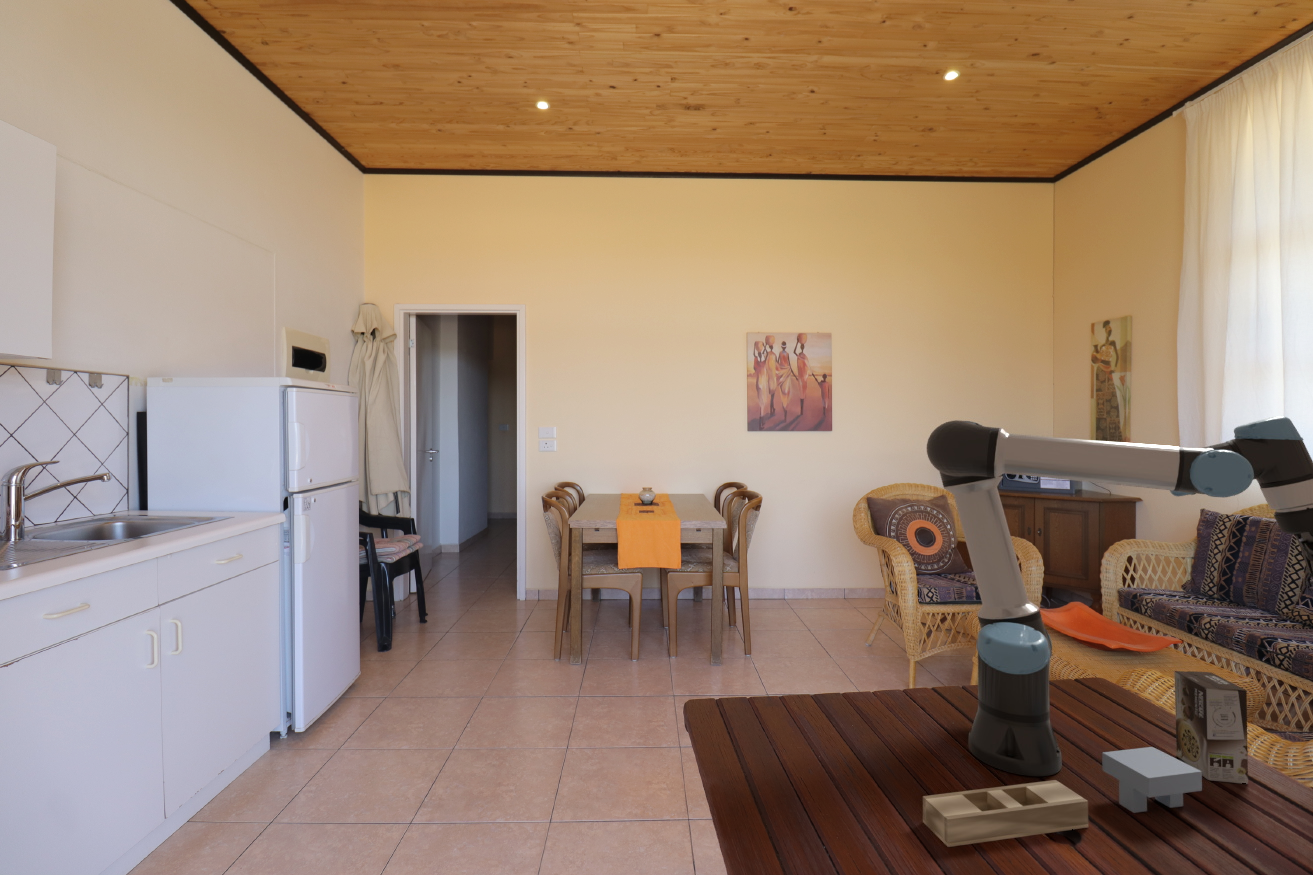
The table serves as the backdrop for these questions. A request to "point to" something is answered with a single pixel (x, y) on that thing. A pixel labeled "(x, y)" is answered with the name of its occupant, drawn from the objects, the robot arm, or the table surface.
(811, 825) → the table surface
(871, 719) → the table surface
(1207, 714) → the coffee box
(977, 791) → the rail
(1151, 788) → the grey plastic block
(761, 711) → the table surface
